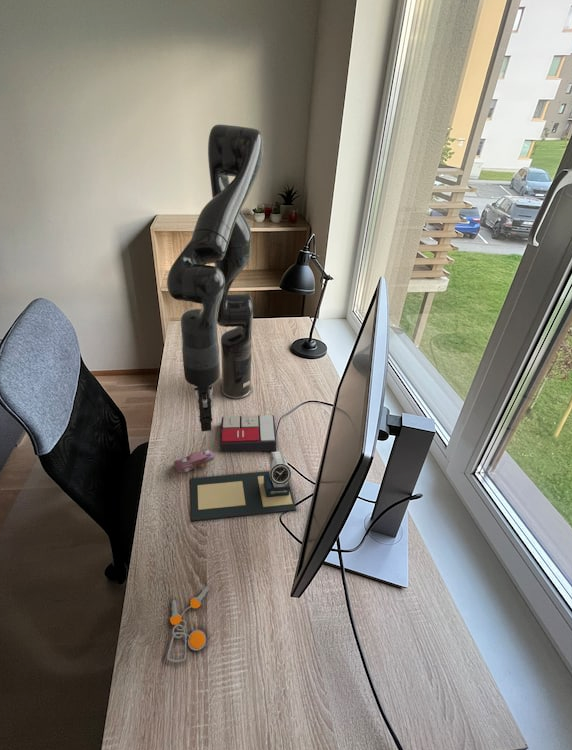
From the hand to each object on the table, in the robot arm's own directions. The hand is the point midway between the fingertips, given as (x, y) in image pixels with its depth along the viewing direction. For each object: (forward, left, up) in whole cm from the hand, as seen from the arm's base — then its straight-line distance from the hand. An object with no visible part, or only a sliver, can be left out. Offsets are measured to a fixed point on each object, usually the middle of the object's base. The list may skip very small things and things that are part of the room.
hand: (205, 417), depth 92 cm
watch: (+8, +16, -18) cm, 25 cm away
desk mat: (+8, +8, -18) cm, 21 cm away
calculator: (-11, +12, -18) cm, 24 cm away
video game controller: (-2, -3, -18) cm, 19 cm away
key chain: (+35, -5, -18) cm, 40 cm away
